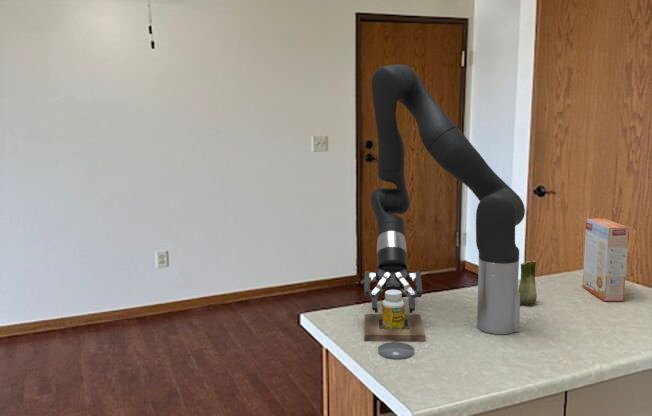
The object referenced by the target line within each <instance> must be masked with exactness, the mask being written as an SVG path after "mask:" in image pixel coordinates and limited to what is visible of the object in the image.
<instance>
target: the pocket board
mask: <svg viewBox="0 0 652 416" xmlns="http://www.w3.org/2000/svg"><path fill="white" fill-rule="evenodd" d="M380 325H381V326H383V313H364V329H363V330H364V332H363V333H364V337H363V338H364V339H363V340H364V342H426V332H425V328H424V324H423V320H422V316H421V314H420V313H419V314H418V313H414V314H413V313H405V326H406V327H407V328H404V329H383V328H382V329H380Z"/></svg>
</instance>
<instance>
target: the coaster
mask: <svg viewBox="0 0 652 416" xmlns="http://www.w3.org/2000/svg"><path fill="white" fill-rule="evenodd" d="M377 353H378V355H380V356H381V357H383V358H385V359H390V360H405V359H409V358H411V357H413V356H414V355H415V348H414V346H413V345H410V344H409V343H405V342H402V341H388V342H386V343H385V342H384V343H382V344H380V345H379V346H378V347H377Z"/></svg>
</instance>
